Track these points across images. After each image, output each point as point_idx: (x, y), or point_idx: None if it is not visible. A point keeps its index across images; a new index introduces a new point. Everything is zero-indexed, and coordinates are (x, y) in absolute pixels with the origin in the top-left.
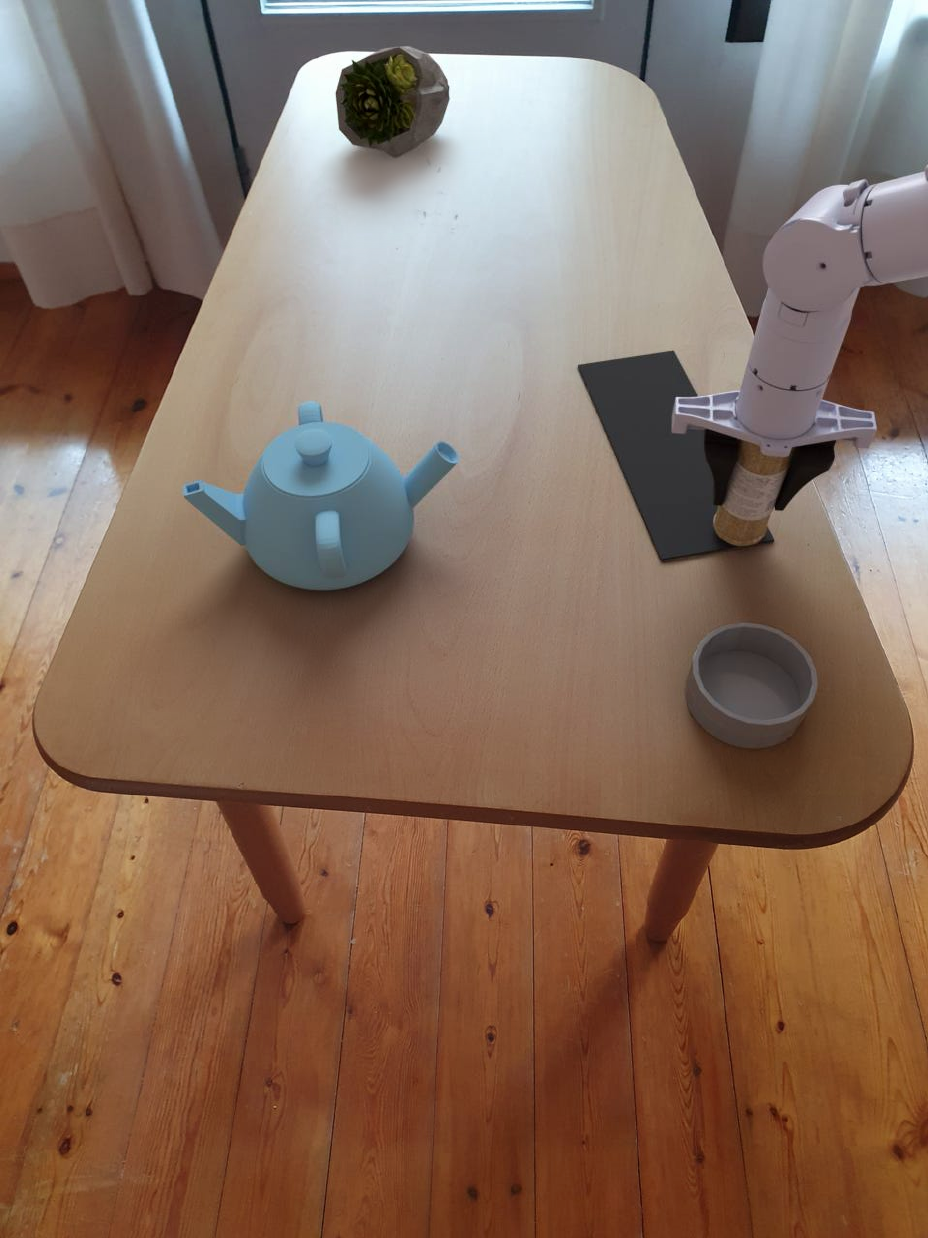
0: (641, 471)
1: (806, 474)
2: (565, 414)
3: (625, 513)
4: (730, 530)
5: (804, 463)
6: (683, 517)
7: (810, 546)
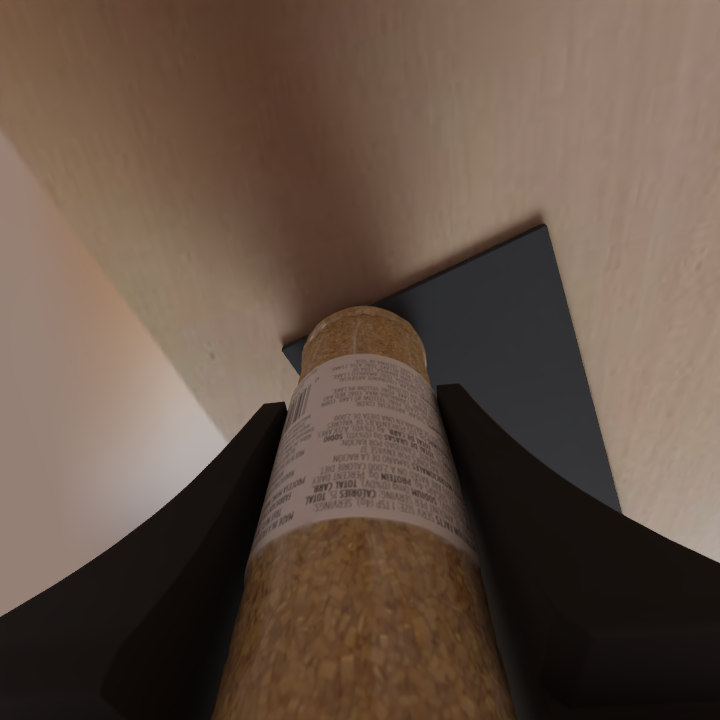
0: (566, 453)
1: (138, 562)
2: (688, 534)
3: (613, 349)
4: (389, 331)
5: (87, 681)
6: (485, 364)
7: (206, 352)
